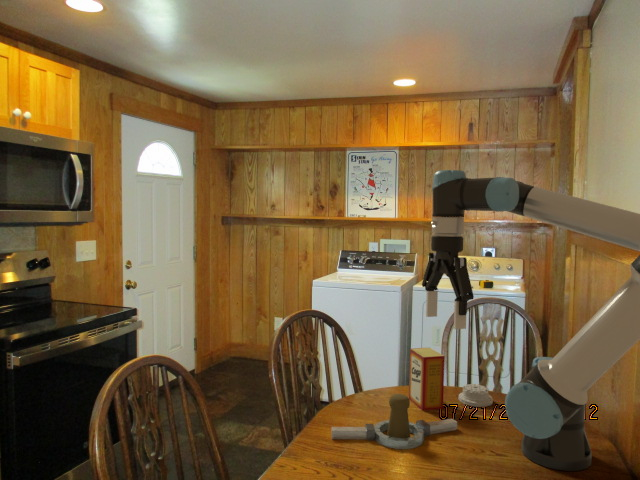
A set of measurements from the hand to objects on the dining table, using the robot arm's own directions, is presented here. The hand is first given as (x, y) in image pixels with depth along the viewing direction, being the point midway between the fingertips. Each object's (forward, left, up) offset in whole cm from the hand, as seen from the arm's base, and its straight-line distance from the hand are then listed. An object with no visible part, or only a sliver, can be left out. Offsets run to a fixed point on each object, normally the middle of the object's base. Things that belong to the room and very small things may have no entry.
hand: (444, 322), depth 125 cm
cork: (+10, -4, -31) cm, 33 cm away
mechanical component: (-18, -30, -31) cm, 46 cm away
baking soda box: (-2, -27, -31) cm, 41 cm away
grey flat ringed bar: (+10, -4, -31) cm, 33 cm away
